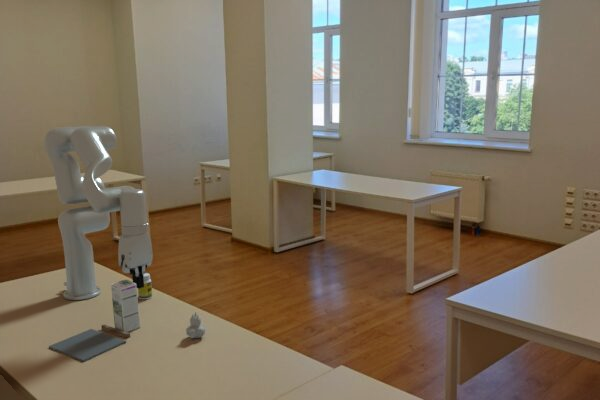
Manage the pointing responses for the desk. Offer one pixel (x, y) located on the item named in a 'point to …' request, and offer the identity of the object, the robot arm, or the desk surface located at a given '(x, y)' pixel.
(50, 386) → the desk surface
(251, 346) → the desk surface
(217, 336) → the desk surface
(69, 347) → the mat
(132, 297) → the syrup box
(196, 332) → the white irregular lump
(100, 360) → the desk surface
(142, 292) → the supplement bottle
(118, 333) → the strip
